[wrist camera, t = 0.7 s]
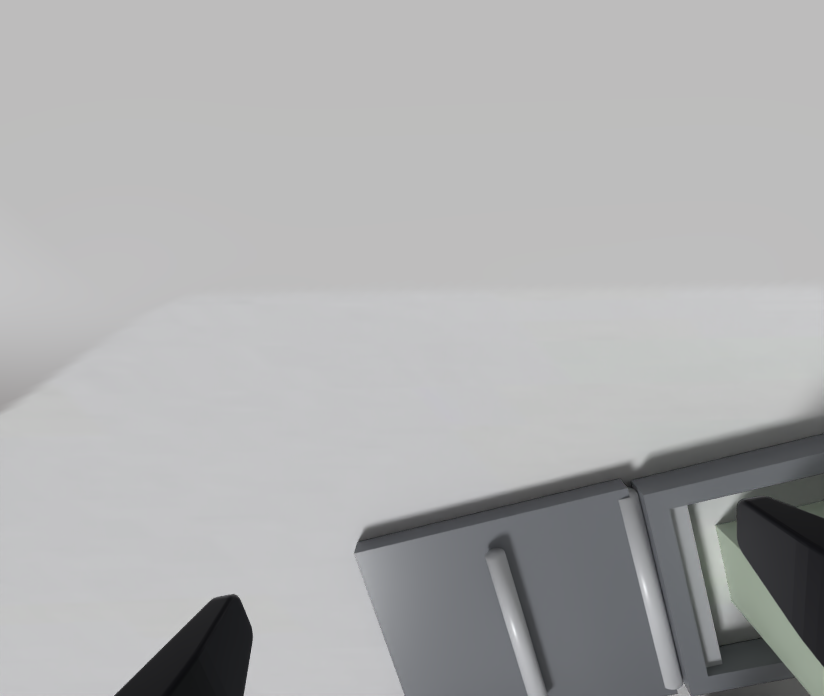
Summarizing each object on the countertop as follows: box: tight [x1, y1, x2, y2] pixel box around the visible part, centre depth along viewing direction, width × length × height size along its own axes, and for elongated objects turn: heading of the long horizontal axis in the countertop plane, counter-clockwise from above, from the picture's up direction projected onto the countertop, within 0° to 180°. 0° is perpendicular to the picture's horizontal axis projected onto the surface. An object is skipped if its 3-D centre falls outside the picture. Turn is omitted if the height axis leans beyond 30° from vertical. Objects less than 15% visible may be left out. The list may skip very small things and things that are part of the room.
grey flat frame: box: [354, 434, 824, 696], centre depth 23 cm, size 12×30×2 cm, turn 107°
